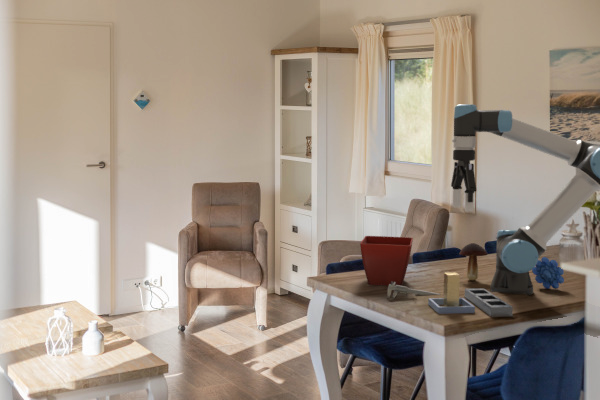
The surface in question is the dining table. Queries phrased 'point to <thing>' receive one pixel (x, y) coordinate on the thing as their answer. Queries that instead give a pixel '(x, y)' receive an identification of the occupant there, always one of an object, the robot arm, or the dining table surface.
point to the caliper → (406, 290)
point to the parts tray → (465, 308)
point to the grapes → (548, 273)
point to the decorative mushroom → (473, 259)
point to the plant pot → (385, 259)
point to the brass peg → (451, 289)
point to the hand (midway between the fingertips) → (462, 209)
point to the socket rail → (488, 302)
